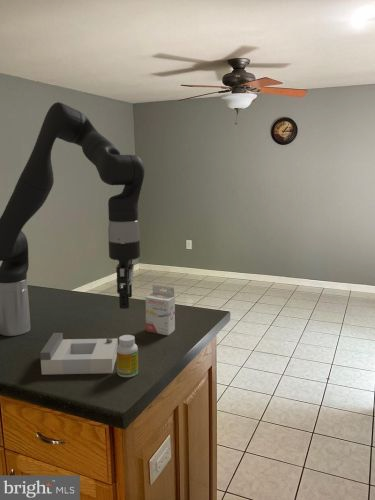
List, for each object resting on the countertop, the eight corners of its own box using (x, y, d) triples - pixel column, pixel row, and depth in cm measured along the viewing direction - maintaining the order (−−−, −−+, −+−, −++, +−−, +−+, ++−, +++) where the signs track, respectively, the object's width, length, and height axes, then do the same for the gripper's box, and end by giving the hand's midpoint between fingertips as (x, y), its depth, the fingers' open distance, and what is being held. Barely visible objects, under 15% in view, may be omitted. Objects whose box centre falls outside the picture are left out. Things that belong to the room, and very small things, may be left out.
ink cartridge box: (145, 331, 137) (144, 287, 134) (152, 326, 141) (152, 283, 138) (168, 335, 133) (168, 291, 130) (175, 330, 138) (175, 287, 135)
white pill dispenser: (41, 374, 108) (40, 352, 107) (54, 352, 121) (53, 332, 120) (112, 373, 109) (111, 351, 108) (118, 351, 122) (117, 331, 121)
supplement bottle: (134, 379, 106) (133, 342, 104) (114, 376, 107) (112, 341, 105) (140, 369, 111) (140, 334, 109) (121, 367, 112) (120, 332, 111)
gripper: (112, 234, 109) (114, 294, 112) (104, 244, 95) (107, 312, 98) (141, 234, 110) (142, 293, 113) (137, 243, 96) (139, 311, 99)
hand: (126, 302), depth 106 cm, fingers open, 8 cm apart
